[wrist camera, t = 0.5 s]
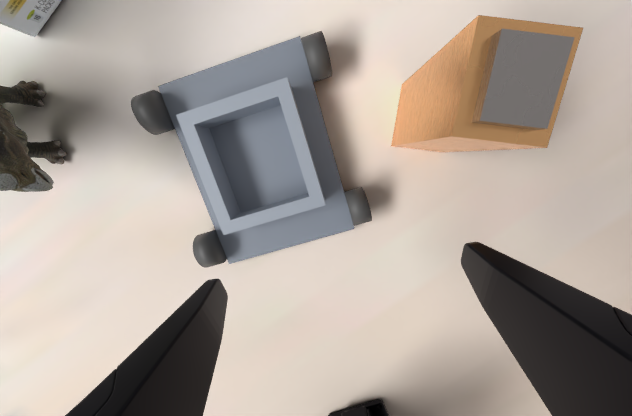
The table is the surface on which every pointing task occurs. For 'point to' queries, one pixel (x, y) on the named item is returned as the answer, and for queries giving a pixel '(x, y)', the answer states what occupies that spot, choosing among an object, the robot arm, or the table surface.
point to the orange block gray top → (488, 88)
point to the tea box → (26, 14)
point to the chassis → (258, 150)
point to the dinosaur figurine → (23, 145)
